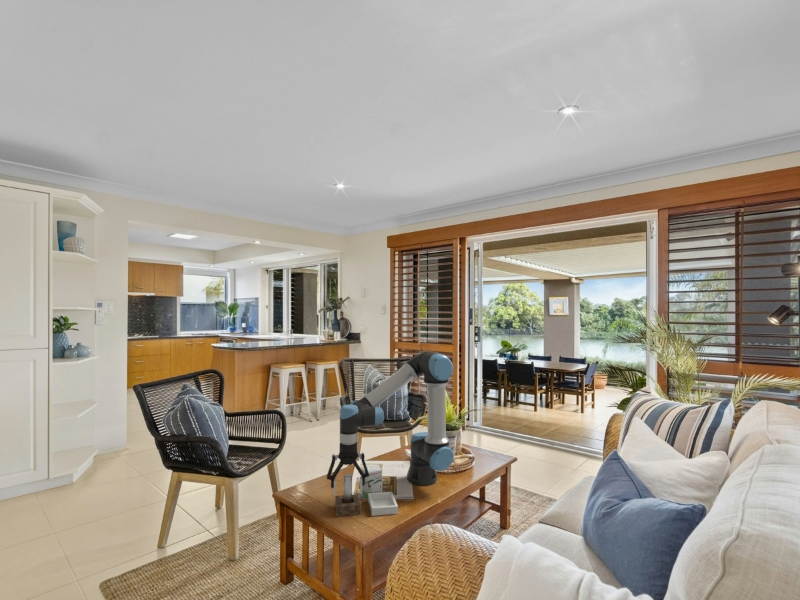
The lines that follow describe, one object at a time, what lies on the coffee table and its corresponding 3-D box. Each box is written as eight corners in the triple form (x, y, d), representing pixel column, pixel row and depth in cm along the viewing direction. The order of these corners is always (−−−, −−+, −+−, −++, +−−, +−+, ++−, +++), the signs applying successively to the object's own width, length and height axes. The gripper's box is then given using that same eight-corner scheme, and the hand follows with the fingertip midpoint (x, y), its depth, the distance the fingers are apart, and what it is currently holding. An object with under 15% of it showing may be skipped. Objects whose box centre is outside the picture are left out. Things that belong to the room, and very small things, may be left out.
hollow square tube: (358, 503, 186) (358, 494, 186) (360, 514, 176) (360, 504, 176) (335, 505, 184) (335, 496, 184) (336, 516, 174) (336, 506, 174)
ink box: (366, 499, 190) (366, 472, 191) (361, 494, 195) (361, 469, 195) (382, 494, 195) (382, 468, 195) (377, 490, 199) (377, 465, 199)
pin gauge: (351, 505, 182) (351, 473, 182) (352, 509, 179) (352, 476, 179) (343, 506, 182) (343, 474, 182) (343, 510, 178) (343, 477, 178)
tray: (392, 498, 191) (392, 491, 191) (397, 513, 177) (398, 506, 177) (367, 500, 189) (367, 493, 189) (371, 515, 175) (371, 508, 175)
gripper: (374, 438, 186) (373, 488, 186) (320, 440, 182) (320, 492, 182) (376, 443, 179) (375, 495, 179) (321, 446, 175) (320, 500, 174)
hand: (347, 494), depth 180 cm, fingers open, 10 cm apart
